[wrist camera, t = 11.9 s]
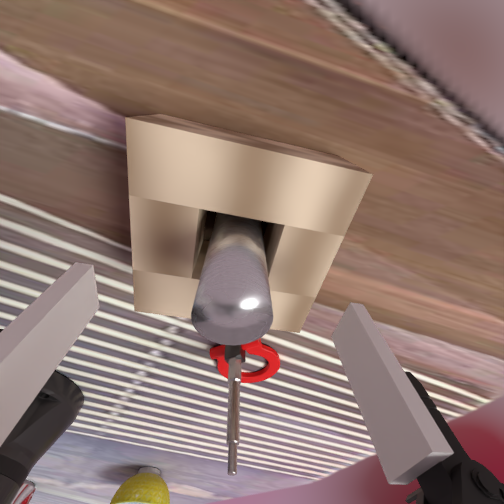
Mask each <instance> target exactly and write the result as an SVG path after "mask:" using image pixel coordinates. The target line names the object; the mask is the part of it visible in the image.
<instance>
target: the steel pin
mask: <svg viewBox="0 0 504 504" xmlns="http://www.w3.org/2000/svg"><path fill="white" fill-rule="evenodd" d="M191 320H192V323H193V326H194V327H195V329H196V330H197V331H198V332H199V333H200V334H201V335H202V336H203V337H205V338H206V339H208V340H210V341H212V342H215V343H219V344H223V345H243V344H247V343H251V342H253V341H255V340H257V339H259V338H261V337H262V336H263V335H265V334H266V333H267V332H268V330H269V329H270V327H271V325H272V322H273V309H272V301H271V294H270V286H269V279H268V271H267V264H266V257H265V249H264V242H263V234H262V227H261V220H256V219H251V218H245V217H240V216H235V215H230V214H225V213H219V212H217V215H216V219H215V223H214V227H213V230H212V234H211V238H210V242H209V246H208V250H207V253H206V257H205V261H204V265H203V269H202V273H201V277H200V280H199V284H198V288H197V292H196V296H195V300H194V304H193V307H192V312H191Z"/></svg>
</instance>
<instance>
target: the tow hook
mask: <svg viewBox="0 0 504 504" xmlns="http://www.w3.org/2000/svg"><path fill="white" fill-rule="evenodd" d="M245 350H246V351H247V352H248V353H249V354H254V355H259V356H262V357H264V358H265V359H267V361H268V365H267V366H266V367H265V368H264V369H262V370H260V371H257V372H252V373H244V372H241V363H242V362H245ZM210 357H211V358H212V359H217V360H218V363H217V366H218V370H219V372H220V373H221V374H222V375H223V376H224V377H226V378H227V379H228V384H229V396H228V420H227V445H228V446H229V451H228V475H236V474H237V445H239V419H240V383H241V382H242V383H253V382H259V381H262V380H266V379H268V378H270V377H271V376H273V375H274V374H275V373H276V372H277V371H278V369H279V367H280V359H279V355H278V354H277V352H276V351H275V350H274V349H272V348H271V347H268V346H266V345H263V344H262V343H261V339H260V338H259V339H257V340H255V341H253V342H251V343H247V344H243V345H220V346H217V347H213V348H211V349H210Z"/></svg>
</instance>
